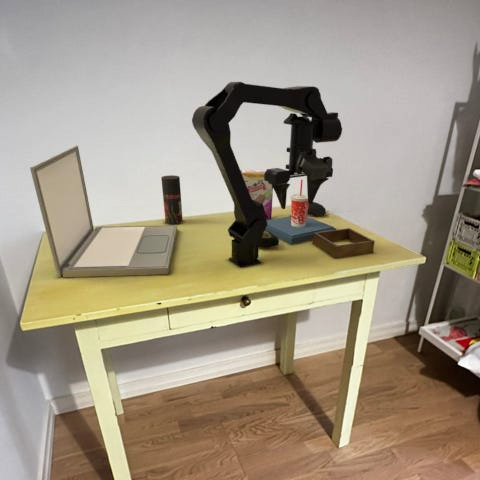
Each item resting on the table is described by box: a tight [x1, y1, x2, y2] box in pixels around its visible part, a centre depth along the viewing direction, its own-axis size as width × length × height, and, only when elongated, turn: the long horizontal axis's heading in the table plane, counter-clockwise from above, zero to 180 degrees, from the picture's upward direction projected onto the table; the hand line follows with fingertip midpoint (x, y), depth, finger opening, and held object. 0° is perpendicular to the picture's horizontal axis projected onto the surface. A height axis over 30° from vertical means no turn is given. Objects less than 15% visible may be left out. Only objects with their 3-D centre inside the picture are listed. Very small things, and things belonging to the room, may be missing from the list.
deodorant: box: [161, 174, 184, 226], centre depth 136 cm, size 6×6×15 cm
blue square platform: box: [264, 215, 337, 245], centre depth 130 cm, size 18×18×2 cm
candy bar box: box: [240, 169, 274, 220], centre depth 138 cm, size 11×5×16 cm, turn 93°
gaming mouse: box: [307, 201, 327, 217], centre depth 149 cm, size 6×15×4 cm, turn 23°
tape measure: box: [258, 231, 280, 249], centre depth 118 cm, size 7×7×4 cm
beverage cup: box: [290, 179, 309, 227], centre depth 125 cm, size 6×6×14 cm
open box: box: [311, 227, 376, 259], centre depth 117 cm, size 13×13×4 cm
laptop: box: [29, 145, 178, 278], centre depth 109 cm, size 35×28×26 cm
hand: (296, 206), depth 109 cm, fingers open, 9 cm apart
